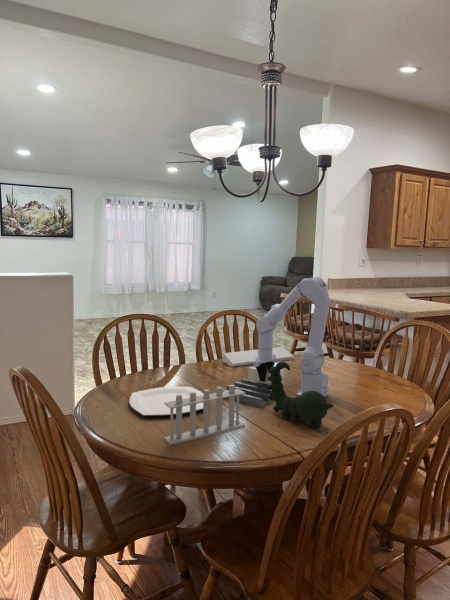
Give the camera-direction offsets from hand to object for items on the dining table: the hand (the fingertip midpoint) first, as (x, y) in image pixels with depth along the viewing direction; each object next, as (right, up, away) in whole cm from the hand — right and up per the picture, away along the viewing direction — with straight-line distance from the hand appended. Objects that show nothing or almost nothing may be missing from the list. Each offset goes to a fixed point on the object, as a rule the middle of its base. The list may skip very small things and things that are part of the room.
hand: (264, 380), depth 172 cm
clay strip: (0, -2, 0) cm, 2 cm away
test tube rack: (-21, -7, -45) cm, 51 cm away
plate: (-36, -5, -22) cm, 42 cm away
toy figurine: (+8, -7, -35) cm, 37 cm away
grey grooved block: (-6, -3, -14) cm, 15 cm away
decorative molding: (+1, +2, +37) cm, 37 cm away
